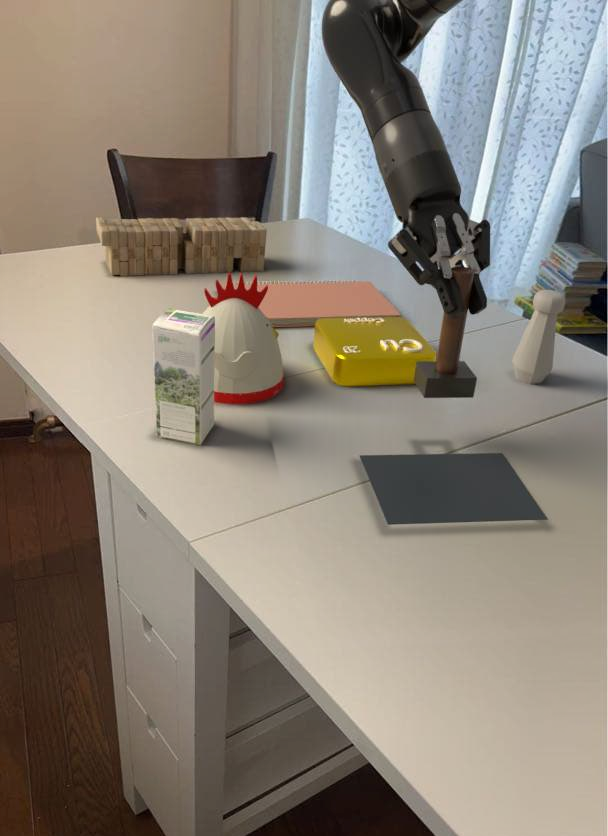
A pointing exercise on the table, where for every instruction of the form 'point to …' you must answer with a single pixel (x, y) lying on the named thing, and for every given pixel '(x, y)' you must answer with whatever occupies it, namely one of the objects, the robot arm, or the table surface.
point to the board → (449, 488)
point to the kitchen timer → (243, 345)
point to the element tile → (370, 350)
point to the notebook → (320, 301)
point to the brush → (449, 352)
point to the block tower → (182, 245)
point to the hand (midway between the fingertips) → (468, 312)
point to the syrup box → (184, 375)
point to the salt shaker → (538, 339)
